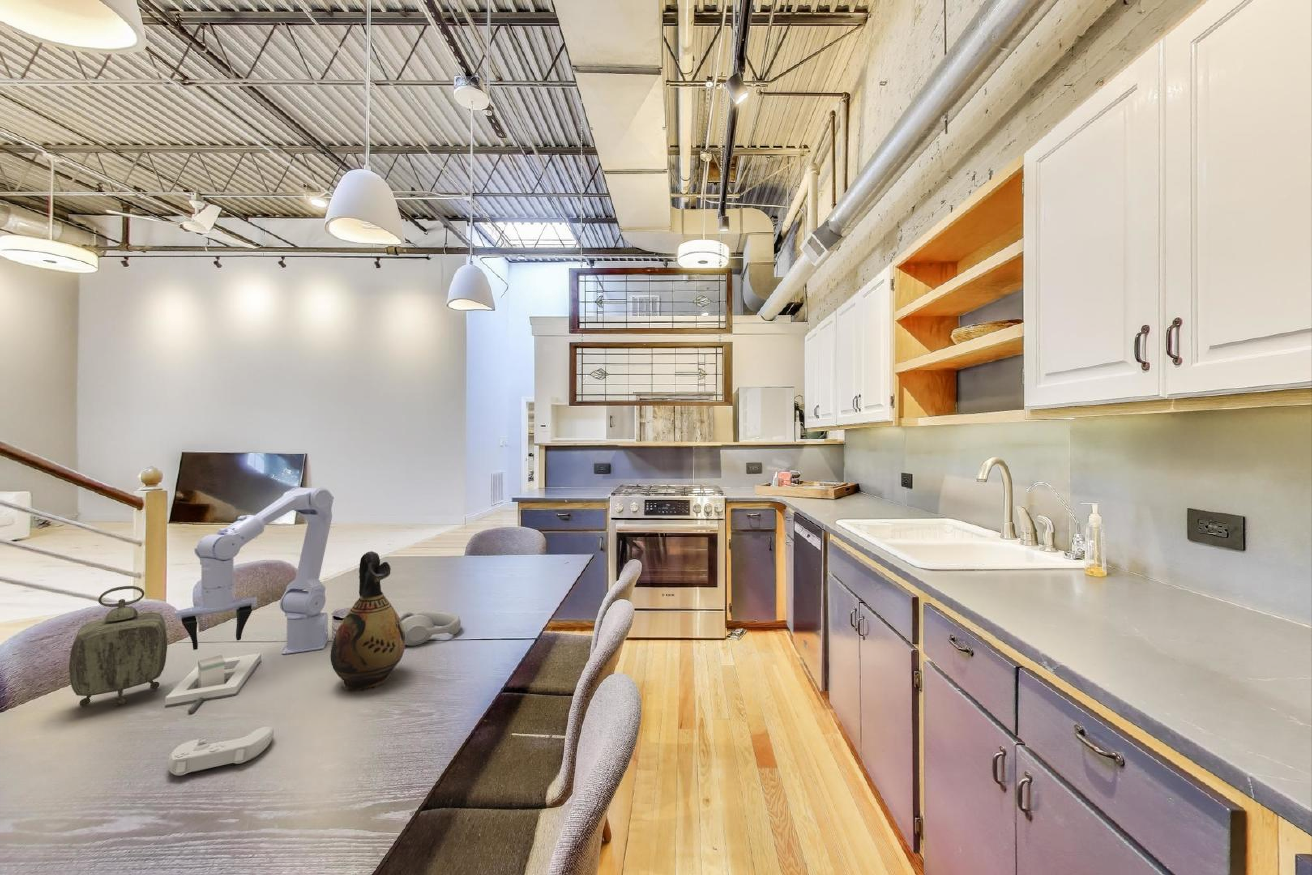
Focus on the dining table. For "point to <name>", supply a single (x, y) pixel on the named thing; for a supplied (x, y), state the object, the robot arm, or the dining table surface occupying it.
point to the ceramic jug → (368, 632)
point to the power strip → (234, 679)
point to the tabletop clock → (118, 651)
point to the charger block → (211, 672)
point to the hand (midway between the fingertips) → (217, 643)
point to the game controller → (218, 752)
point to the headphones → (427, 625)
